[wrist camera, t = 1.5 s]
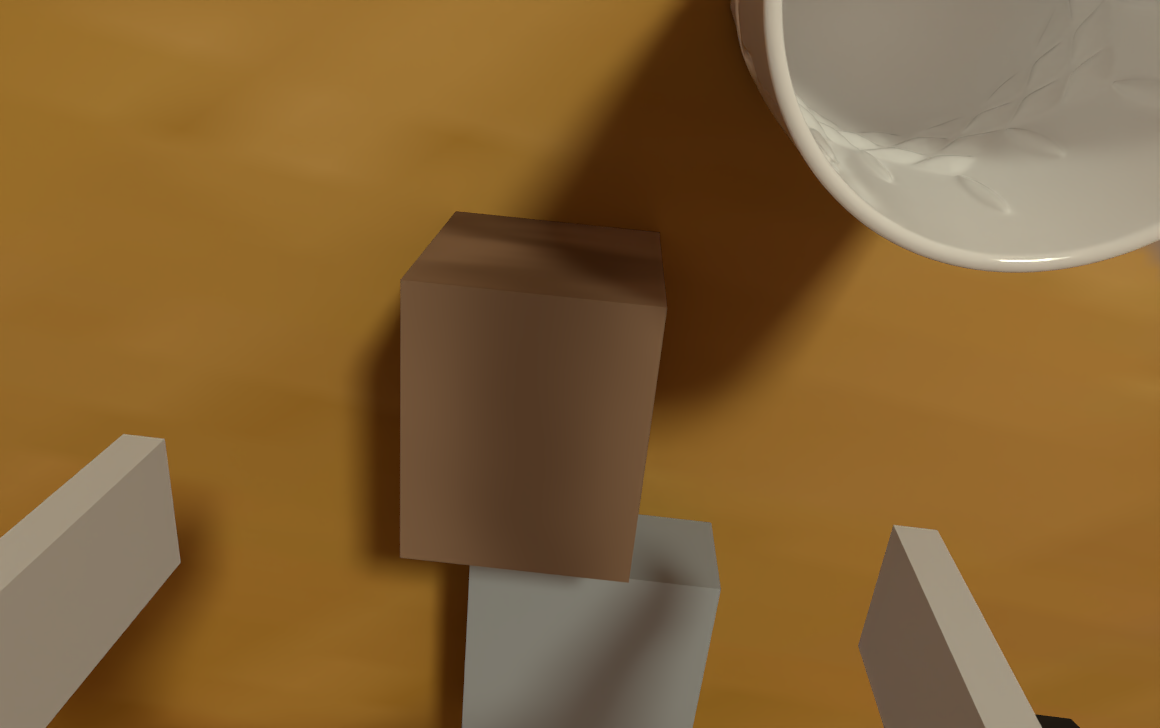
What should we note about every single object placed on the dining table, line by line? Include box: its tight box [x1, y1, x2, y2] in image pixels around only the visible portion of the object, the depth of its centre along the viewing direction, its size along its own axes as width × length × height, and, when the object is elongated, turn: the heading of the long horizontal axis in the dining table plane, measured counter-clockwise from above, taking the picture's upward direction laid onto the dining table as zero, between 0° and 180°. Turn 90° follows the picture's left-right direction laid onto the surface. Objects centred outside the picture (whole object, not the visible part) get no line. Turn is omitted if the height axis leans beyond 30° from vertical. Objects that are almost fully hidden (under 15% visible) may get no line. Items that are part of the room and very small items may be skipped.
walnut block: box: [400, 211, 667, 583], centre depth 21 cm, size 6×7×6 cm
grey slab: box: [462, 515, 721, 728], centre depth 27 cm, size 7×9×4 cm
